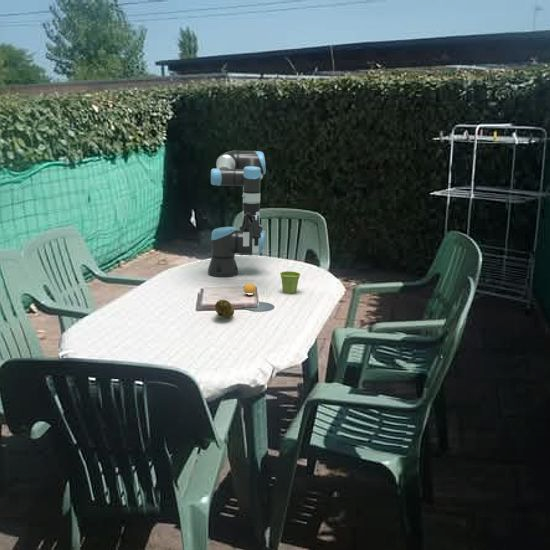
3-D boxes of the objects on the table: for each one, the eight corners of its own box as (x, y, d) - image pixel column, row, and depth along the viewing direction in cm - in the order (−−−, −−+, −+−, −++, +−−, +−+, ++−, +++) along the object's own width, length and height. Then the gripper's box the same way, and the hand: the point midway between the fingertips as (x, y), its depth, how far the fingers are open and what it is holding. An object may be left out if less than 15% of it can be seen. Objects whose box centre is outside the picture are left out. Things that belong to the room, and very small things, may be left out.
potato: (241, 314, 234) (241, 295, 232) (227, 324, 222) (227, 303, 220) (222, 311, 237) (222, 292, 235) (208, 321, 225) (208, 301, 223)
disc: (237, 304, 246) (237, 304, 246) (264, 300, 253) (264, 300, 253) (252, 313, 235) (252, 312, 235) (280, 309, 242) (280, 308, 242)
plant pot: (300, 290, 271) (301, 271, 269) (299, 295, 262) (300, 276, 260) (280, 288, 272) (280, 270, 269) (278, 294, 263) (279, 275, 260)
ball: (241, 294, 261) (241, 282, 259) (252, 293, 263) (252, 281, 262) (247, 297, 256) (247, 285, 255) (258, 296, 259) (258, 284, 257)
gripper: (235, 198, 268) (234, 243, 274) (252, 206, 246) (251, 256, 251) (250, 198, 271) (250, 243, 276) (269, 206, 248) (267, 255, 254)
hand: (250, 249), depth 264 cm, fingers open, 13 cm apart
